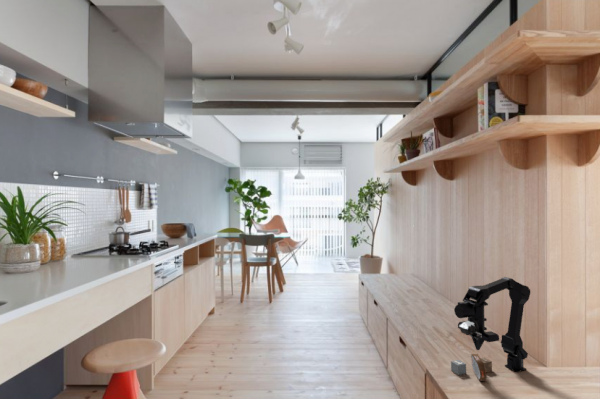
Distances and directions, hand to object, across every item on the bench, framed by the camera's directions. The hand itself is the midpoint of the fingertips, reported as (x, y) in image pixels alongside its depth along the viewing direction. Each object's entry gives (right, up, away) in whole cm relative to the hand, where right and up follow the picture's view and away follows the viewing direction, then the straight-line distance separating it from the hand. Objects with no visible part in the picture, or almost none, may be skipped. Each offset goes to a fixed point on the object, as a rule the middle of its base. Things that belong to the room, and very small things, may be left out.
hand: (477, 349), depth 163 cm
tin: (0, -12, 0) cm, 12 cm away
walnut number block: (+6, -12, +6) cm, 15 cm away
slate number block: (-7, -12, +4) cm, 15 cm away
